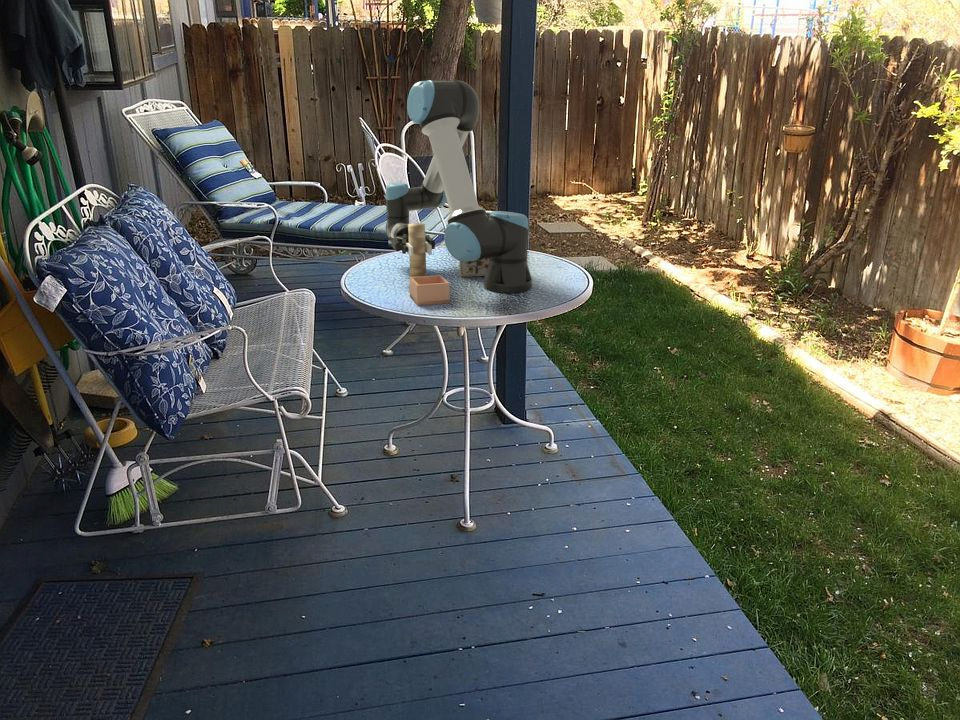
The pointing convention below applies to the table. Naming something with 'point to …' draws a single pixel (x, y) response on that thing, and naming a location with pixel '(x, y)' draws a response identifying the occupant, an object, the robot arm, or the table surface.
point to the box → (429, 290)
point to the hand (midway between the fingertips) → (421, 251)
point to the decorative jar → (474, 267)
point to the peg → (417, 249)
